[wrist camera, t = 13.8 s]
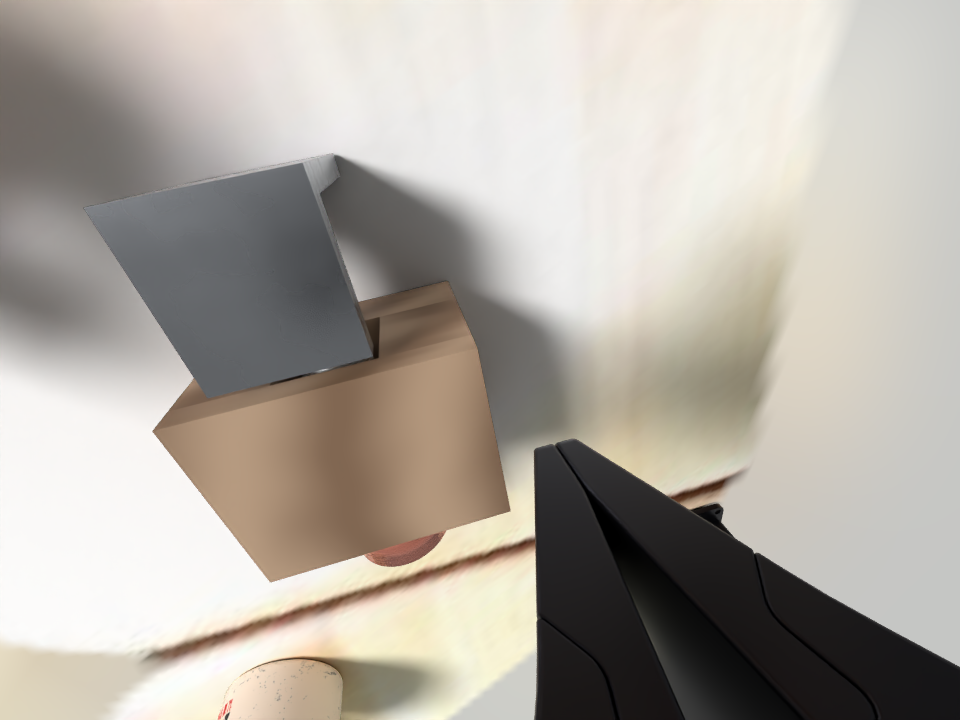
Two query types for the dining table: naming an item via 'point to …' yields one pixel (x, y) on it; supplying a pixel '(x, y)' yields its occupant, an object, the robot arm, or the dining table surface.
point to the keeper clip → (242, 273)
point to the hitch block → (350, 444)
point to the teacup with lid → (285, 692)
